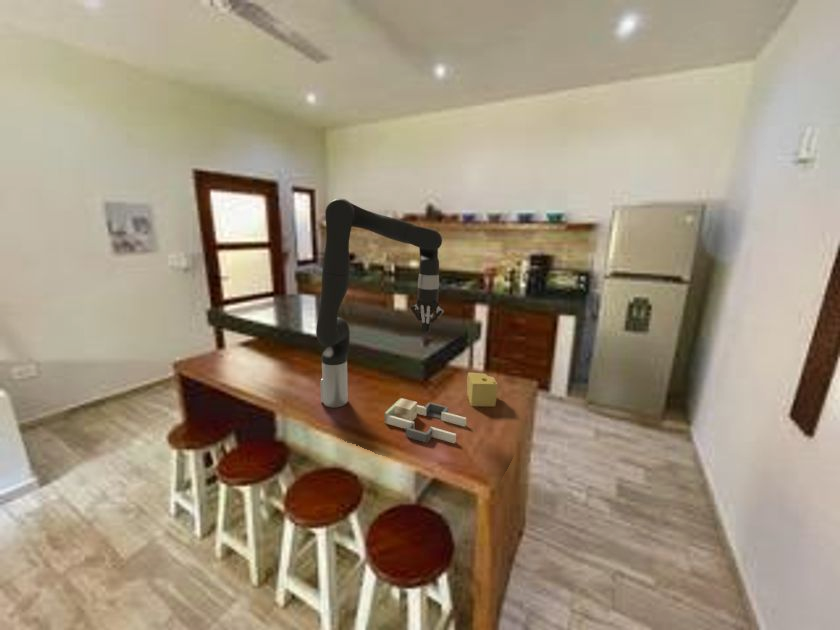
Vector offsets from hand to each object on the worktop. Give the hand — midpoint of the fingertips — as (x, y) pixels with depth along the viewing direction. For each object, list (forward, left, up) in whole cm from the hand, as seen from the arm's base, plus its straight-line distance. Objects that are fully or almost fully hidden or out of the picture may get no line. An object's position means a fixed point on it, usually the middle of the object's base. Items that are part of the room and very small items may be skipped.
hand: (426, 332), depth 137 cm
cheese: (+20, +12, -29) cm, 37 cm away
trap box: (+7, -14, -29) cm, 33 cm away
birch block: (-1, -14, -29) cm, 32 cm away
